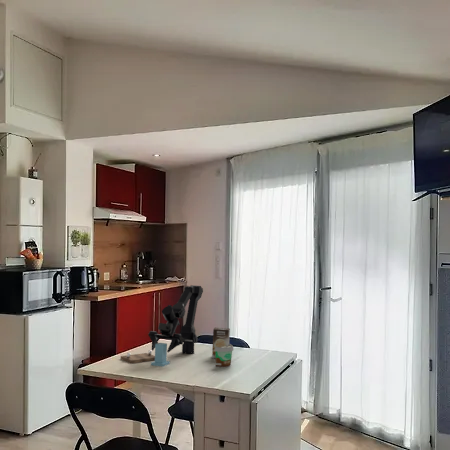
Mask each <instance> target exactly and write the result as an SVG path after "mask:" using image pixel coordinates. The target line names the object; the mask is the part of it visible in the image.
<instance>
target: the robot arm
mask: <svg viewBox="0 0 450 450" xmlns="http://www.w3.org/2000/svg"><path fill="white" fill-rule="evenodd" d="M203 293H204V288H203V287H202V286H201V285H192V284H191V285H190V286H189V285H188V286H184V290H183V292H182V293H181V295H180V298H179V299H178V301H177V302H176V303H175V304H173V305H170V304H169V305H166V306H165V307H164V308H162V310H161V313H162V316H163V318H164V320H165V321H167V322H166V323H164V322H161V323H159V324H158V328H157V329H158V330H159V332H160V334H159V333H158V331H153V330H150V331H148V332H149V333H147V335H148V337H149V339H150V341H151V352H152V351H155V344H157V343H159V341H160V339H161V340H162V339H163V340H168V341H171V342H170V344H169V346H168V347H167V353H170V352H171V351H172V350H174V349H175V348H176V347H179V346H180V345H182V346H181V352H182V354H192V355H194V354H195V344H196V343H198V340H199V339H198V336H197V334H196V328H195V321H196V320H195V319H196V314H197V308H198V307H197V306H198V301H199V300H200V299H201V298H202V295H203ZM188 302H189V303H188ZM187 304H188V307H187V313H186V306H187ZM185 313H186V317H185V318H186V319H185V323H184V325H181V323H180V320H179V319H183V318H184V316H185ZM180 325H181V326H180ZM178 326H180V327H181V329H180V333H176V329H177V327H178Z"/></svg>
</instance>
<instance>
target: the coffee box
mask: <svg viewBox="0 0 450 450" xmlns="http://www.w3.org/2000/svg"><path fill="white" fill-rule="evenodd" d="M230 333H231V329H230V328H227V327H213V331H212V349H211V351H212V353H211V354H212V355H211V358H212V359H216V353H215V347H222V346H228V344H230V335H231V334H230Z"/></svg>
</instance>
